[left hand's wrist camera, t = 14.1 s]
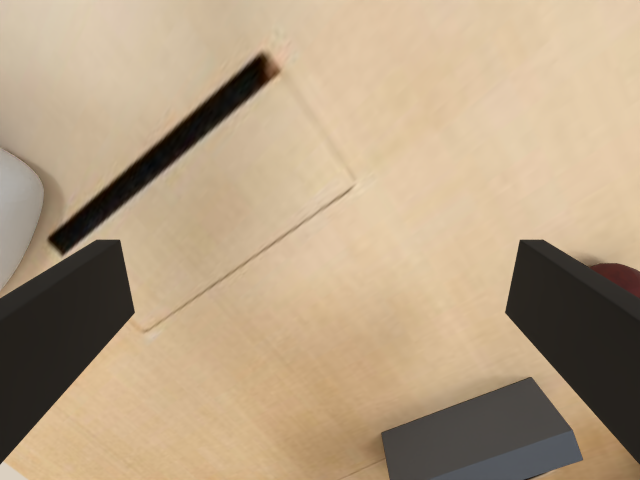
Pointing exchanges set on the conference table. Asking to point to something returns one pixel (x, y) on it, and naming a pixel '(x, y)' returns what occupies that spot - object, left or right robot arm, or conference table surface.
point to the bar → (484, 439)
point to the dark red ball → (620, 276)
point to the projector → (17, 211)
